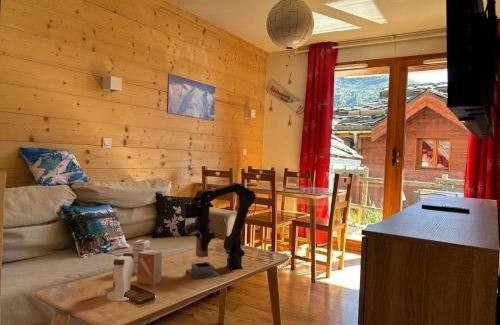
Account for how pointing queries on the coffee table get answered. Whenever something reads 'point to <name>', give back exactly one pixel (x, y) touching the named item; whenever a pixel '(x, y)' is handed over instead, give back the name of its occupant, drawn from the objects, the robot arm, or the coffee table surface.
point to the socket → (202, 270)
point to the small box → (149, 267)
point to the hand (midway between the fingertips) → (202, 250)
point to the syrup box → (137, 248)
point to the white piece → (121, 277)
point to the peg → (200, 249)
